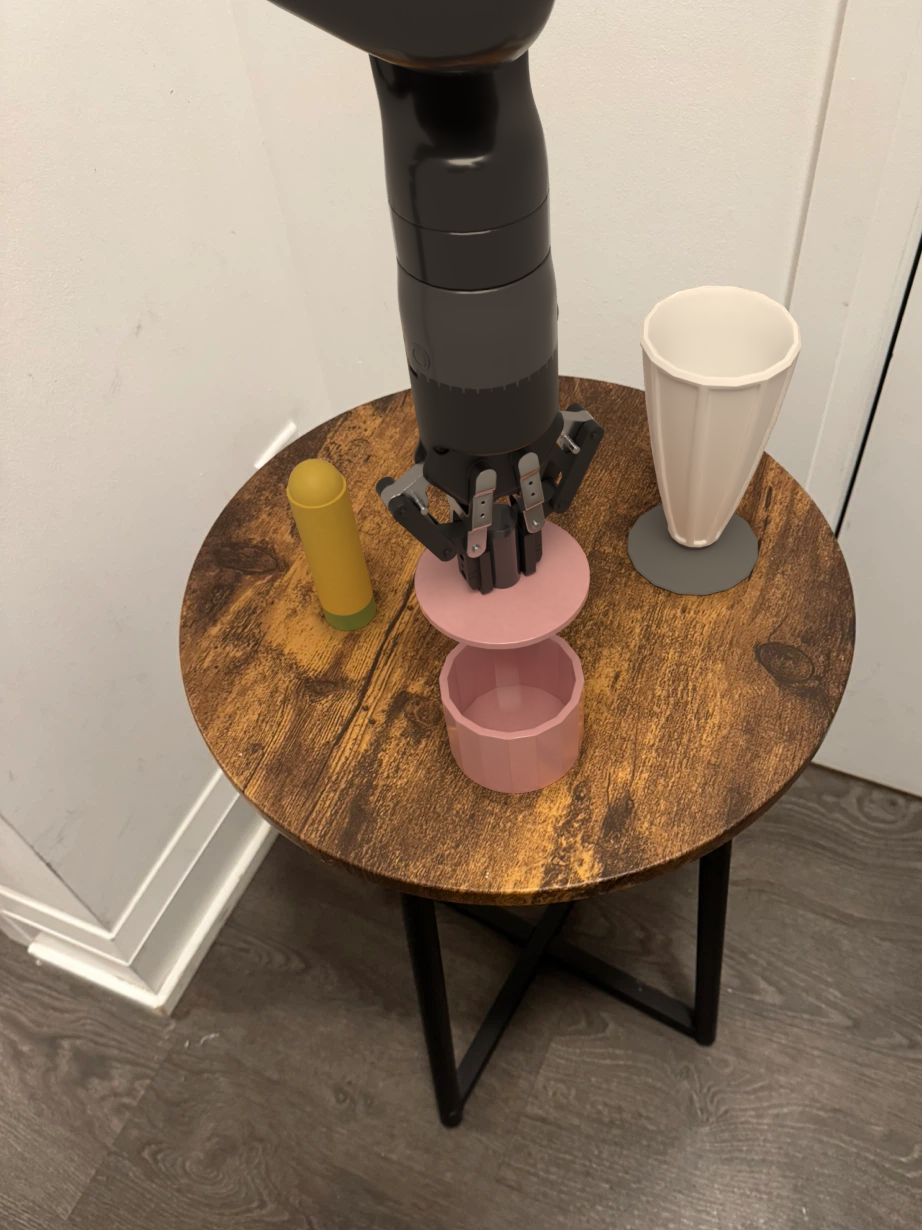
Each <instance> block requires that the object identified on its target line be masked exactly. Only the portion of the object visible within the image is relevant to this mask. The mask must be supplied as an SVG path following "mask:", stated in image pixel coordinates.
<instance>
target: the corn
mask: <svg viewBox="0 0 922 1230" xmlns="http://www.w3.org/2000/svg"><path fill="white" fill-rule="evenodd" d="M288 477H289V478H288V483H287V486H286V490H285V491H286V492H285V493H286V496H287V500H288V503H289V507H290V509H291V512H292V517H293V519H294V522H295V526H296V528H297V531H298V532H297V533H298V534H299V539H300V541H301V545H302V549H303V552H304V555H305V558H306V562H307V563H308V567H309V571H310V574H311V577H312V580H313V583H314V584H313V585H314V587H315V590H316V593H317V596H318V600H319V604H320V606H321V609H322V613H323V616H324V619H325V621H326V622H327V624H328V625H329V626H330V627H332V628H333V629H335V630H338V631H342V632H351V631H356V630H357V631H358V630H360V629H362V628H364V627H366V626H367V625H368V624H370V623H371V622H372V621H373V619H374V618H375V617H376V612H377V603H376V599H375V595H374V591H373V587H372V583H371V578H370V575H369V570H368V566H367V562H366V558H365V557H366V556H365V554H364V550H363V545H362V541H361V537H360V532H359V529H358V525H357V521H356V516H355V513H354V509H353V503H352V501H351V496H350V492H349V488H348V484H347V480H346V477H345V476H344V475H343V473H342V472H340V471H339V470H338V469H337V467H336V466H335V465H333V463H330V462H329V461H328V460H324V459H321V458H309V459H305V460H303V461H301V462H299V463H298V464H297V465H296V466H295V467H294V468H293V469H292V471H291V472H290V474H289V476H288Z"/></svg>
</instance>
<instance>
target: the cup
mask: <svg viewBox="0 0 922 1230" xmlns="http://www.w3.org/2000/svg"><path fill="white" fill-rule="evenodd" d="M801 335H802V334H801V327H800V326H799V324H798V323H797V321H796V320H795V318H794V317H793V316H792V315H791V314H790V312H789V311H788V309H787V308H786V307H785V306H784V305H782V304H781V303H779V302H777V301H776V300H774V299H773V298H770V297H769V296H767V295H766V294H765V293H760V292H758V291H753V290H750V289H746V288H743V287H739V286H733V285H702V286H698V287H693V288H688V289H684V290H679V291H677V292H674V293H673V294H670V295H669V296H668V297H667V296H666V297H665V298H664V299H662V300H660V301H658V302H656V303H655V304H654V305H653V307H652V308H651V309H650V310H649V312H647V314H646V316H645V317H644V318H643V319H642V320H641V322H640V335H639V345H640V347H641V349H642V350H641V353H642V369H643V370H642V371H643V386H644V399H645V409H646V416H647V423H648V425H647V426H648V431H649V440H650V448H651V454H652V455H651V456H652V460H653V466H654V471H655V476H656V481H657V488H658V493H659V496H660V500H661V504H660V503H659V504H657V505H656V506H654V507H652V508H651V509H649V510H648V511H646V512H644V513H642V514H641V515H640V516H639V517H637V519H636V521H635V523H634V524H633V526H632V527H631V528H630V530H629V531H628V534H627V535H628V536H627V549H626V550H627V554H628V557H629V558H630V561H631V563H632V565H633V568H634V569H635V571H636V572H638V573H639V574H640V575H641V576H642V577H644V578H645V580H647V581H648V582H650V583H651V584H652V585H653V586H655V587H658V588H661V589H663V590H665V591H668V592H671V593H675V594H677V595H685V596H686V595H687V596H709V595H712V594H716V593H720V592H724V591H728V590H730V589H732V588H734V587H736V586H737V584H739V583H740V582H742V581H743V580H745V579H746V578H748V577H749V576H750V574H751V572H752V570H753V568H754V567H755V565H756V563H757V562H758V559H759V541H758V538H757V536H756V534H755V533H754V530H753V529H752V528H751V526H750V524H749V522H748V521H747V520H746V519H744V518H743V517H741V516H740V515H739V514H738V513H736V510H737V509H738V508H739V505H740V503H741V501H742V499H743V497H744V495H745V493H746V491H747V490H748V487H749V485H750V483H751V481H752V479H753V477H754V475H755V473H756V471H757V469H758V466H759V463H760V462H761V460H762V457H763V454H764V452H765V449H766V447H767V445H768V442H769V440H770V438H771V435H772V432H773V430H774V428H775V425H776V424H777V421H778V417H779V415H780V412H781V409H782V406H783V404H784V400H785V398H786V395H787V392H788V389H789V387H790V384H791V381H792V379H793V375H794V373H795V372H794V371H795V368H796V365H797V362H798V360H799V356H800V353H801V350H802V337H801Z"/></svg>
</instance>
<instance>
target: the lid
mask: <svg viewBox="0 0 922 1230" xmlns="http://www.w3.org/2000/svg"><path fill="white" fill-rule="evenodd" d="M486 547H487V549H488V550H489V551H490V560H491V570H492V581H493V590H492V591H490V592H488V593H485V594H483V595H482V594H481V593H480V591H479V590H478V588H477V589H474V590H473V589H472V588H471V587H470V586H469V584H468V583H467V582H466V580H465V579H464V577H463V576H462V574H461V573H460V571H459V566H458V565H459V564H458V559H457V555H456V556H455V557H454V558H453V559H452V560H450V561H447V562H443V561H441V560H440V559H438V558H437V557H436V556H435V555H434V554H433V553H432V552H431V551H429V550H428V549H427V548H426V547H425V550H424V551H423V553H422V554H421V556H420V558H419V560H418V562H417V565H416V568H415V573H414V590H415V596H416V600H417V601H416V602H417V604H418V606H419V608H420V611H421V612H422V614H423V615H424V617H425V619H427V621H428V622H429V623H430V624H431V626H433V627H434V628H435V629H436V630H437V631H439V632H440V633H442V634H443V635H444V636H446V637H448V638H450V639H451V640H454V641H456V642H457V643H463V644H466V645H469V646H473V647H478V648H484V649H514V648H520V647H525V646H529V645H532V644H535V643H538V642H541V641H543V640H545V639H548V638H550V637H551V636H553V635H555V634H556V635H557V634H558V633H560V632H561V631H562V630H564V629H565V628H566V627H568V626H569V625H570V624H571V623H572V622H573V621H574V620H575V618H576V617H577V616H578V615H579V613H580V612H581V610H582V609H583V607H584V606H585V604H586V601H587V598H588V595H589V591H590V586H591V570H590V564H589V561H588V558H587V556H586V555H587V554H585V551H584V550H583V548H582V546H581V545H580V544H579V542H578V541H577V539H575V538H574V537H573V536H572V535H571V534H570V533H569V532H567V531H566V530H565V529H563V527H560V526H559V525H557V524H555V523H553V522H552V521H549V520H547V519H545V524H544V526H543V528H542V557H541V560H540V561H539V562H537V563H536V572H534V573H532V574H529V575H527V576H524V575H523V573H522V572H521V562H520V547H519V531H518V516H517V513H516V511H515V509H514V508H513V507H511V506H509V505H508V503H502V502H493V506H492V524H491V526H488V527H487V537H486Z"/></svg>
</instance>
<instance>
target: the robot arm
mask: <svg viewBox="0 0 922 1230" xmlns="http://www.w3.org/2000/svg"><path fill="white" fill-rule="evenodd" d="M266 1H267V2H269V4H272V5H274V6H276V7H277V8H279V9H281V10H283V11H285V12H286V13H288V14H290V15H293V16H295V17H296V18H299V19H300V20H302V21H304V22H305V23H308V24H310V25H311V26H313V27H315V28H317V29H319V30H321V31H323V32H325V33H326V34H329V35H330V36H331V37H334V38H336V39H337V40H338V39H339V40H340V41H342V42H344V43H346V44H348V45H350V46H352V47H354V48H356V49H357V50H360V51H362V52H364V53H366V54H367V55H368V60H369V65H370V70H371V74H372V79H373V84H374V87H375V88H374V89H375V93H376V97H377V103H378V109H379V113H380V114H379V115H380V123H381V135H382V137H381V138H382V151H383V167H384V168H383V169H384V181H385V190H386V198H387V205H388V211H389V219H390V225H391V231H392V237H393V244H394V249H395V250H394V251H395V255H396V256H395V257H396V258H395V259H396V271H397V274H396V275H397V276H396V278H397V279H396V286H397V291H396V292H397V305H398V312H399V319H400V324H401V325H400V326H401V331H402V337H403V343H404V350H405V351H404V352H405V356H406V364H407V369H408V375H409V382H410V383H409V384H410V389H411V394H412V395H411V396H412V400H413V407H414V414H415V415H414V416H415V419H416V424H417V429H418V441H417V445H416V447H415V449H414V454H413V461H414V462H413V463H414V465H412V466H411V468H409V469H408V470H406V471H405V472H404V473H403V474H402V475H401V476H400V477H398V478H397V480H396V479H395V478H394V477H392V476H384V477H382V478H380V479H379V480H378V481H377V482H376V484H375V486H374V487H375V492H376V494H377V495H378V496H379V499H381V501H382V503H383V504H384V506H385V508H386V509H387V510H388V511H389V513H390V514H391V516H392V518H393V519H394V520H395V522H397V523H398V524H399V525H400V526H401V527H402V528H403V529H404V530H406V531H407V532H408V533H409V534H410V535H411V536H413V537H414V538H415V539H416V540H417V541H418V542H419V543H420V544H422V546H424V547H425V549H426V548H427V549H428V550H429V551H431V552H432V553H433V554H434V555H435V556H436V557H437V558H438V559H440V560H441V561H443V562H447V561H450V560H452V559H453V558H454V557H455V556H456V555H457V559H458V564H459V565H458V566H459V571H460V573H461V574H462V576H463V577H464V579H465V580H466V582H467V583H468V584H469V586H470V587H471V588H472V589H473V590H474V589H477V588H478V590H479V591H480V593H481V594H482V595H483V594H485V593H488V592H490V591H492V590H493V581H492V570H491V560H490V551H489V550H488V549H487V547H486V537H487V527H488V526H491V524H492V506H493V503H496V501H498V500H499V499H501V498H503V497H506V501H507V505H509V506H511V507H513V508H514V509H515V511H516V513H517V516H518V531H519V547H520V562H521V572H522V573H523V575H524V576H527V575H529V574H532V573H534V572H536V563H537V562H539V561H540V560H541V557H542V528H543V526H544V524H545V520H546V519H547V517H549V516H551V515H552V514H553V513H555V514H556V515H561V514H562V515H563V514H564V513H566V512H567V511H568V510H569V509H570V507H571V506H572V504H573V501H574V499H575V497H576V495H577V493H578V490H579V489H580V486H581V484H582V482H583V481H584V478H585V476H586V474H587V472H588V469H589V467H590V466H591V463H592V461H593V459H594V457H595V455H596V452H597V450H598V448H599V446H600V444H601V442H602V440H603V438H604V435H605V430H604V428H603V427H602V426H601V425H600V423H598V421H597V420H595V418H594V417H593V416H592V414H590V412H589V411H588V410H587V409H586V408H585V407H584V406H583V404H582V403H580V402H574V403H572V404H570V405H569V406H568V407H567V408H566V409H565V410H560V409H559V405H560V397H559V396H560V392H559V391H560V390H559V389H560V388H559V385H560V384H559V383H560V382H559V332H558V331H559V330H558V329H559V328H558V327H559V326H558V324H559V323H558V322H559V315H560V314H559V313H560V311H559V305H558V289H557V279H556V273H555V268H554V267H555V266H554V262H553V255H552V243H551V242H552V241H551V240H552V239H551V238H552V237H551V236H552V235H551V197H550V196H551V195H550V194H551V191H550V172H549V171H550V170H549V169H550V168H549V157H548V151H547V149H548V148H547V143H546V137H545V132H544V128H543V124H542V120H541V117H540V114H539V111H538V108H537V104H536V101H535V98H534V93H533V89H532V82H531V75H530V57H529V55H530V54H529V53H530V48H531V47H532V46H533V45H534V44H535V42H536V41H537V40H538V39H539V37H540V35H541V34H542V32H543V31H544V30H545V28H546V25H547V24H548V21H549V19H550V16H551V14H552V12H553V9H554V7H555V3H556V0H266ZM560 474H561V477H560V480H559V482H557V481H558V479H559V476H560ZM430 485H432V486H433V487H435V488H436V489H437V490H439V491H441V492H442V493H444V494H445V497H446V499H447V502H448V506H449V511H448V512H449V514H448V515H449V519H448V522H443V523H442V522H440V521H439V520H438V519H437V517H435V516H434V515H433V514H432V513H431V512H430V511H429V508H428V505H429V503H430V499H429V496H428V495H427V490H428V488H429V486H430Z"/></svg>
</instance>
